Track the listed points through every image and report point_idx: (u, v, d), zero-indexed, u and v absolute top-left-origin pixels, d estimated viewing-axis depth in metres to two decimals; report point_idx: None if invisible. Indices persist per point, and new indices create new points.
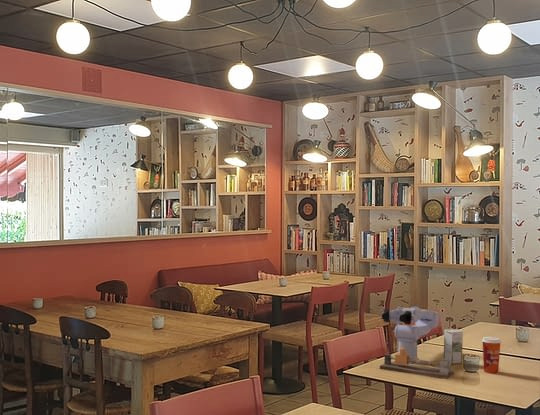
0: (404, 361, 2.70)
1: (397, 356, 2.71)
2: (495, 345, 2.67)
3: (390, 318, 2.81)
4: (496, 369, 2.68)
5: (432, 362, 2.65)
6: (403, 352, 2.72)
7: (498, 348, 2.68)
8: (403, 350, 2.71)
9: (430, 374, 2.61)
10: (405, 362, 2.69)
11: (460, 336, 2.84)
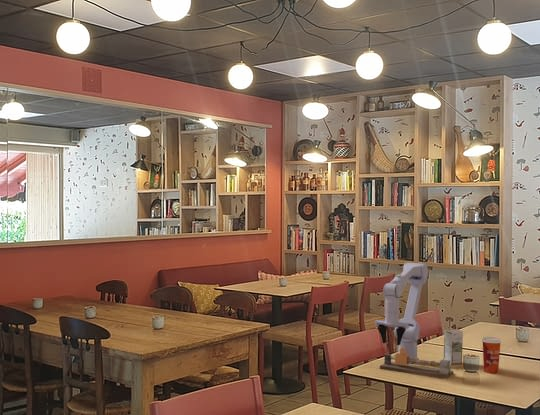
0: (404, 361, 2.70)
1: (397, 356, 2.71)
2: (495, 345, 2.67)
3: None
4: (496, 369, 2.68)
5: (432, 362, 2.65)
6: (403, 352, 2.72)
7: (498, 348, 2.68)
8: (403, 350, 2.71)
9: (430, 374, 2.61)
10: (405, 362, 2.69)
11: (460, 336, 2.84)
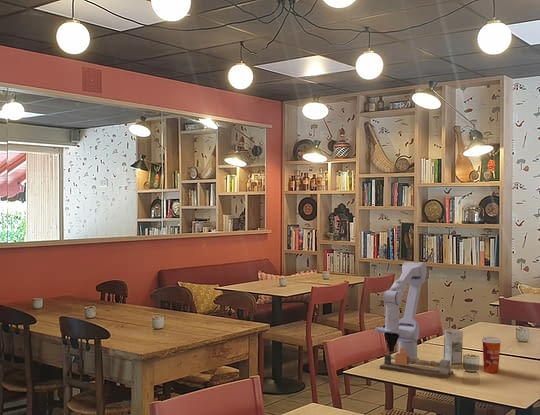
0: (404, 361, 2.70)
1: (397, 356, 2.71)
2: (495, 345, 2.67)
3: None
4: (496, 369, 2.68)
5: (432, 362, 2.65)
6: (403, 352, 2.72)
7: (498, 348, 2.68)
8: (403, 350, 2.71)
9: (430, 374, 2.61)
10: (405, 362, 2.69)
11: (460, 336, 2.84)
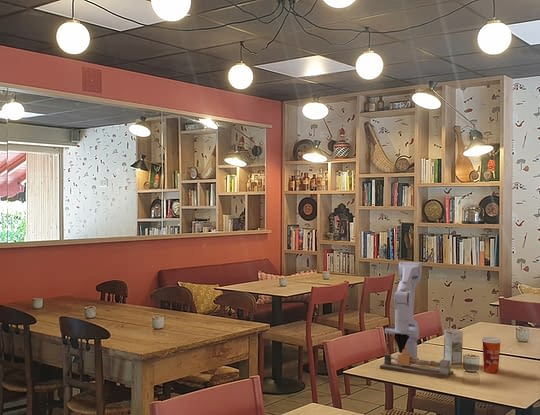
0: (406, 361, 2.69)
1: (399, 356, 2.71)
2: (495, 345, 2.67)
3: None
4: (496, 369, 2.68)
5: (432, 362, 2.65)
6: (405, 352, 2.71)
7: (498, 348, 2.68)
8: (405, 350, 2.71)
9: (430, 374, 2.61)
10: (407, 362, 2.69)
11: (460, 336, 2.84)
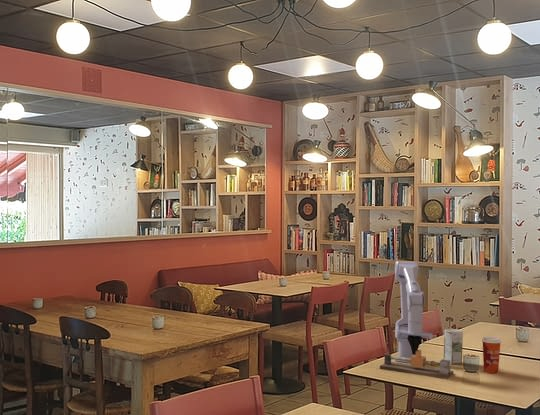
0: (420, 363, 2.66)
1: (413, 358, 2.68)
2: (495, 345, 2.67)
3: None
4: (496, 369, 2.68)
5: (432, 362, 2.65)
6: (419, 354, 2.68)
7: (498, 348, 2.68)
8: (419, 352, 2.68)
9: (430, 374, 2.61)
10: (421, 364, 2.66)
11: (460, 336, 2.84)
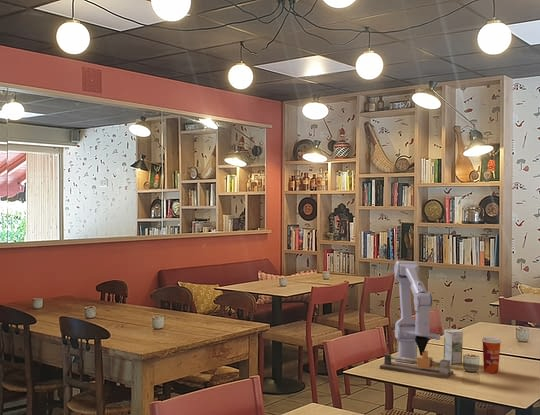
0: (427, 364, 2.64)
1: (419, 359, 2.66)
2: (495, 345, 2.67)
3: None
4: (496, 369, 2.68)
5: (432, 362, 2.65)
6: (426, 355, 2.66)
7: (498, 348, 2.68)
8: (426, 353, 2.66)
9: (430, 374, 2.61)
10: (428, 365, 2.64)
11: (460, 336, 2.84)
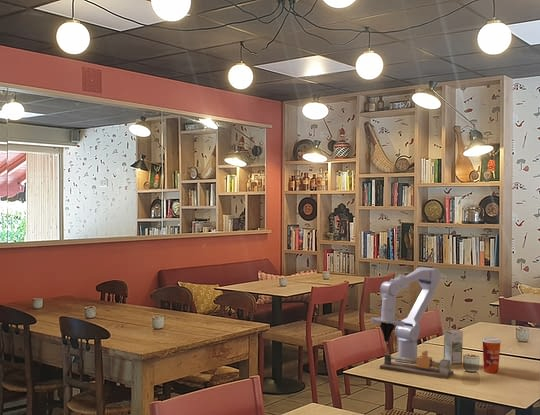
0: (426, 364, 2.65)
1: (419, 359, 2.66)
2: (495, 345, 2.67)
3: None
4: (496, 369, 2.68)
5: (432, 362, 2.65)
6: (425, 355, 2.66)
7: (498, 348, 2.68)
8: (425, 353, 2.66)
9: (430, 374, 2.61)
10: (428, 365, 2.64)
11: (460, 336, 2.84)
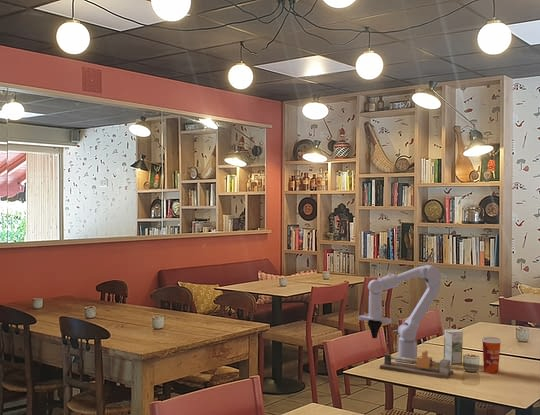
0: (426, 364, 2.65)
1: (419, 359, 2.66)
2: (495, 345, 2.67)
3: None
4: (496, 369, 2.68)
5: (432, 362, 2.65)
6: (425, 355, 2.66)
7: (498, 348, 2.68)
8: (425, 353, 2.66)
9: (430, 374, 2.61)
10: (428, 365, 2.64)
11: (460, 336, 2.84)
